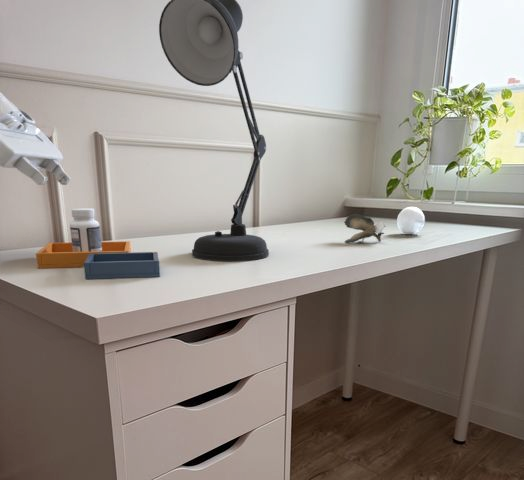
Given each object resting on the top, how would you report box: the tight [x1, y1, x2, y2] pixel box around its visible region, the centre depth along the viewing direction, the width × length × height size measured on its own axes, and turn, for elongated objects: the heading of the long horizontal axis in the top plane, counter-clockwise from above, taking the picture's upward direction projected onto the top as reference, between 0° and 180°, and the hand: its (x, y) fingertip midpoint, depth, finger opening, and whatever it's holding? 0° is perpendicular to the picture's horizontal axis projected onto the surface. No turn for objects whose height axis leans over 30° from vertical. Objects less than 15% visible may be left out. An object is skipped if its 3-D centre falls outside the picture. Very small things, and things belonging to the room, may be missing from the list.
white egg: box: [396, 206, 426, 235], centre depth 141 cm, size 10×7×7 cm
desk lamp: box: [158, 0, 270, 262], centre depth 98 cm, size 24×26×45 cm
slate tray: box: [83, 251, 161, 280], centre depth 87 cm, size 12×10×3 cm
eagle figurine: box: [343, 213, 386, 243], centre depth 125 cm, size 8×7×9 cm
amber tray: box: [35, 240, 132, 269], centre depth 97 cm, size 16×14×3 cm
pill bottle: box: [69, 207, 102, 252], centre depth 96 cm, size 5×5×9 cm
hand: (56, 182), depth 93 cm, fingers open, 8 cm apart
